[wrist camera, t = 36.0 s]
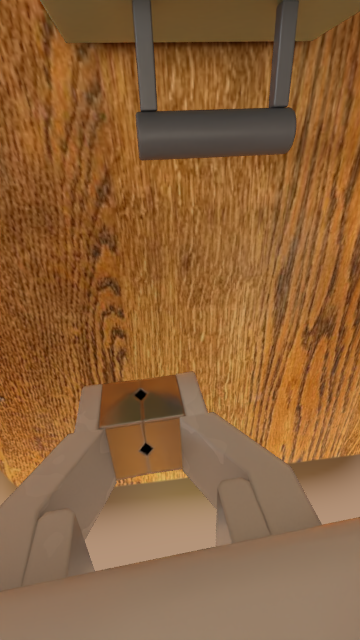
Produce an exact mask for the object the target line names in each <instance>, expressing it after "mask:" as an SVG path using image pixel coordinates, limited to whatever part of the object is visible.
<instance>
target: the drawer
mask: <svg viewBox="0 0 360 640" xmlns="http://www.w3.org/2000/svg"><path fill="white" fill-rule="evenodd" d="M40 1H41V2H42V4H43V6H44V7H45V9H46V11H47V12H48V14H49V16H50V17H51V19H52V20H53V22H54V24H55V25H56V27H57V29H58V30H59V32H60V34H61V35H62V37H63V39H64V40H65V42H66V43H123V42H135V48H136V60H137V73H138V85H139V97H140V110H141V112H137V113H136V127H137V139H138V149H139V158H140V160H163V159H185V158H208V157H230V156H252V155H274V154H285V153H287V152H288V151H289V150H290V148H291V147H292V144H293V141H294V138H295V133H296V115H295V112H294V110H293V109H292V108H289V107H287V106H288V102H289V93H290V83H291V74H292V64H293V55H294V45H295V41H313V40H314V39H316V38H317V37H319V36H321V35H322V34H324V33H326V32H327V31H329V30H330V29H332V28H334V27H335V26H337V25H338V24H340V23H342V22H343V21H345V20H346V19H348V18H350V17H351V16H353V15H354V14H356V13H358V12H359V11H360V0H40ZM249 41H274V46H273V58H272V71H271V83H270V95H269V108H253V109H220V110H186V111H157V94H156V78H155V61H154V44H153V42H249ZM284 107H287V108H284Z"/></svg>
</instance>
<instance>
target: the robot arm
mask: <svg viewBox="0 0 360 640" xmlns="http://www.w3.org/2000/svg"><path fill="white" fill-rule="evenodd" d="M179 469H183V471H184V473H185V474H186V475H187V476H188V477H189V478H190V480H191V481H192V482H193V483H194V484H195V485H196V486H197V488H198V489H199V490H200V491H201V492H202V493H203V494H204V496H205V497H206V498H207V499H208V500H209V501H210V502H211V504H212V505H213V506H214V507H215V508H216V509H217V523H216V547H212V548H207V549H202V550H197V551H192V552H187V553H182V554H177V555H172V556H168V557H163V558H158V559H153V560H148V561H143V562H139V563H134V564H129V565H125V566H119V567H114V568H109V569H105V570H100V571H95V570H94V568H93V564H92V561H91V559H90V556H89V553H88V550H87V547H86V544H85V539H86V537H87V535H88V534H89V532H90V530H91V528H92V526H93V524H94V522H95V521H96V519H97V517H98V515H99V514H100V512H101V510H102V508H103V506H104V504H105V503H106V501H107V499H108V497H109V495H110V494H111V492H112V489H113V488H114V486H115V485H116V483H117V482H116V480H121V479H126V478H131V477H136V476H141V475H146V474H152V473H159V472H166V471H173V470H179ZM0 640H360V517H358V518H353V519H348V520H343V521H339V522H333V523H329V524H324V525H322V524H321V522H320V520H319V518H318V516H317V515H316V513H315V511H314V509H313V507H312V505H311V504H310V502H309V500H308V498H307V496H306V494H305V492H304V490H303V488H302V486H301V485H300V483H299V481H298V479H297V477H296V475H295V474H294V472H293V470H292V468H291V466H289V465H288V464H286V463H285V462H284V461H282V460H281V459H279V458H278V457H276V456H275V455H274V454H272V453H271V452H269V451H268V450H267V449H265V448H264V447H262V446H261V445H259V444H258V443H257V442H255V441H254V440H252V439H251V438H250V437H248V436H247V435H245V434H244V433H242V432H241V431H240V430H238V429H237V428H235V427H234V426H233V425H231V424H230V423H228V422H227V421H225V420H224V419H223V418H221V417H220V416H218V415H217V414H216V413H214V412H210V413H208V411H207V408H206V405H205V402H204V399H203V396H202V393H201V390H200V387H199V384H198V381H197V378H196V375H195V373H194V372H193V371H192V372H186V373H179V374H176V375H170V376H162V377H155V378H148V379H141V380H131V381H122V382H113V383H104V384H97V385H89V386H84V387H83V389H82V391H81V397H80V403H79V409H78V414H77V420H76V426H75V431H74V433H71V434H68V435H67V436H66V437H65V438H64V439H63V440H62V441H61V442H60V443H59V444H58V445H57V446H56V447H55V448H54V450H53V451H52V452H51V453H50V454H49V455H48V456H47V457H46V458H45V459H44V460H43V461H42V462H41V463H40V464H39V465H38V467H37V468H36V469H35V470H34V471H33V472H32V473H31V474H30V475H29V476H28V477H27V478H26V479H25V480H24V481H23V482H22V484H21V485H20V486H19V487H18V488H17V489H16V490H15V491H14V492H13V493H12V494H11V495H10V496H9V497H8V498H7V499H6V501H5V502H4V503H3V504H2V505H1V506H0Z"/></svg>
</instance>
